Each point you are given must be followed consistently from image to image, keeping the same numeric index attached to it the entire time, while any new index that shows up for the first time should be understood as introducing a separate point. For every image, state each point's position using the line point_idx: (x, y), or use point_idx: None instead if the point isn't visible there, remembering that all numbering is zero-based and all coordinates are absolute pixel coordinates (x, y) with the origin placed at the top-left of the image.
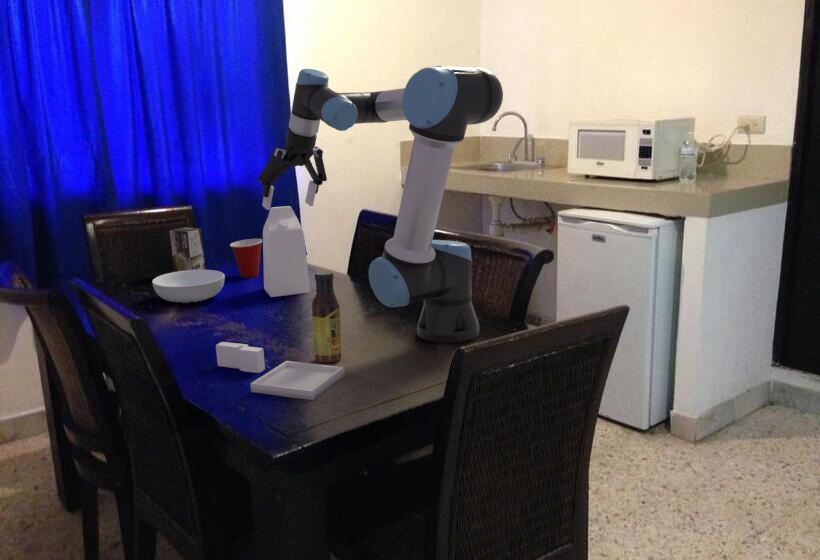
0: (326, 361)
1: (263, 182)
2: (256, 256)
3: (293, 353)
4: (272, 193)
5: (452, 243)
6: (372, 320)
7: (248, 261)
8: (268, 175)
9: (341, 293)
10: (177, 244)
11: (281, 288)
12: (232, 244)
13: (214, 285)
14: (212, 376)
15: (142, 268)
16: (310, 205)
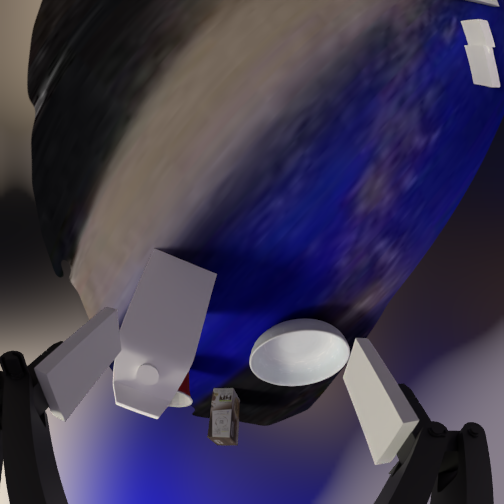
0: None
1: (479, 431)
2: None
3: (409, 14)
4: (391, 393)
5: None
6: (195, 15)
7: None
8: (481, 471)
9: (119, 203)
10: (236, 428)
11: (197, 275)
12: (184, 404)
13: (295, 326)
14: (497, 68)
15: (243, 421)
16: (115, 312)
